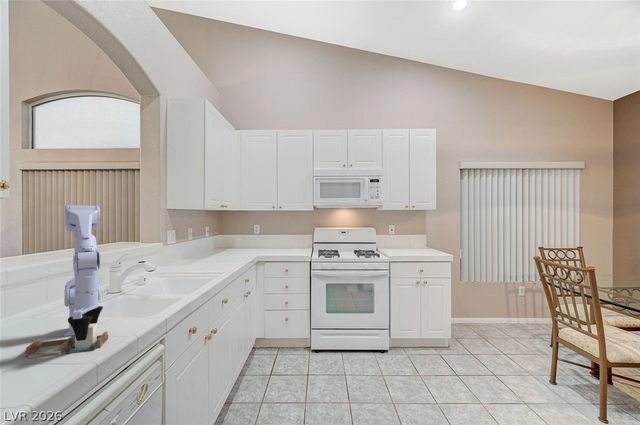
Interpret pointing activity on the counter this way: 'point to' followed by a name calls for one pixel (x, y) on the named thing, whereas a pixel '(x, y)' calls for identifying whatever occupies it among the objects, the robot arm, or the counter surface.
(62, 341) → the slot rack
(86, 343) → the plug
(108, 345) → the counter surface
